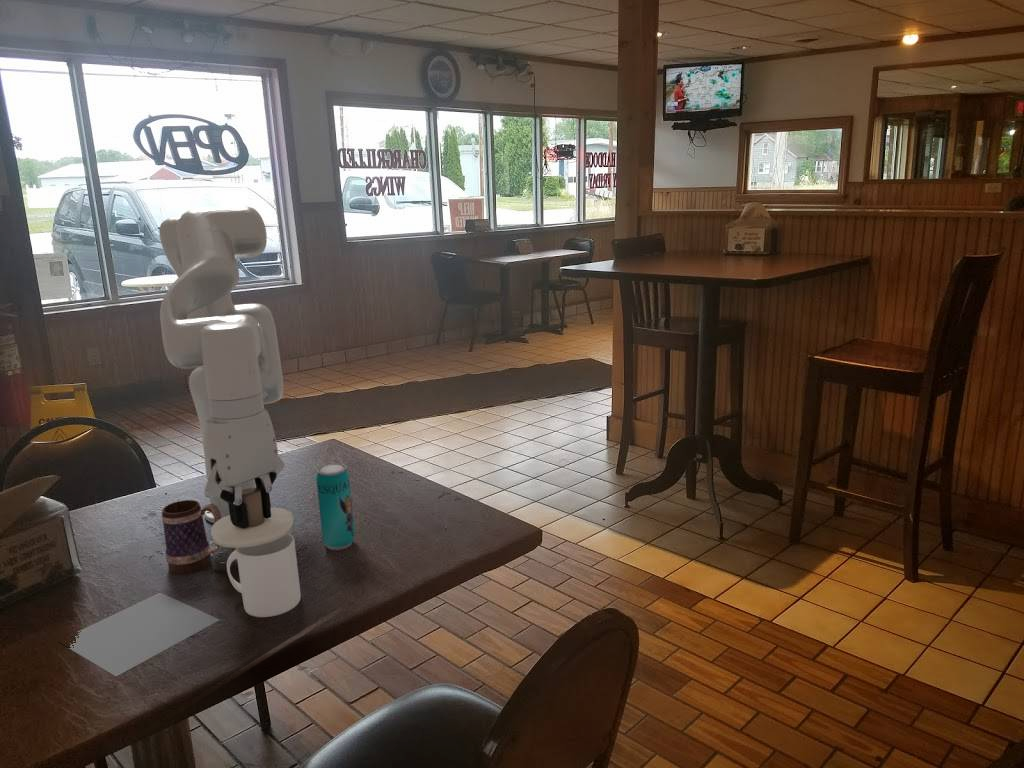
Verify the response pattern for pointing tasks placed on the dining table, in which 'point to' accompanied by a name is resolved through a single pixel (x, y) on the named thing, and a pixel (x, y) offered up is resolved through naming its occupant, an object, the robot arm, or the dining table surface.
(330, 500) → the beverage can
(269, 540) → the lid
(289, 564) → the mug
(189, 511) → the mug
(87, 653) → the mat
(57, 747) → the dining table surface
